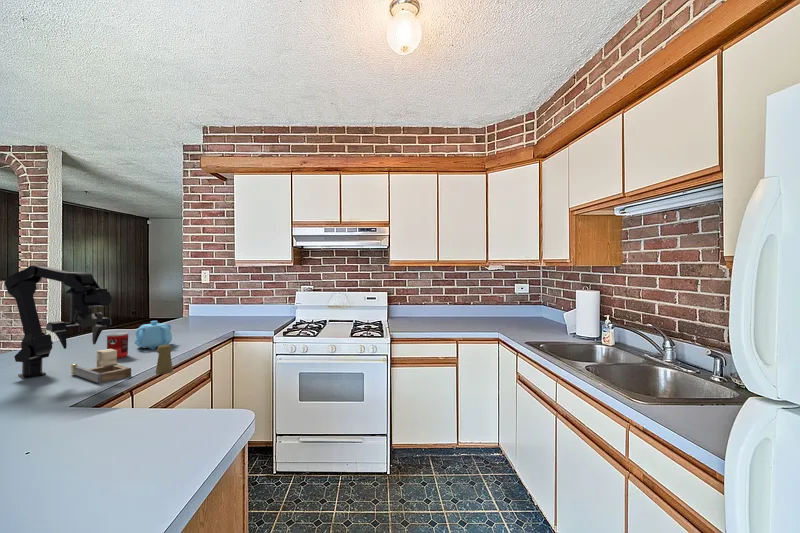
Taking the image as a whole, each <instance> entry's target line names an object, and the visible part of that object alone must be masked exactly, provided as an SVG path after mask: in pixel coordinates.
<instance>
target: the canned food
mask: <svg viewBox="0 0 800 533" xmlns="http://www.w3.org/2000/svg"><path fill="white" fill-rule="evenodd" d="M106 349H114V350H117V358H118V359H124V358H126V356H127V357H128V355H129V333H128V332H126V331H120V332H119V331H118V332H117V331H116V332H110V333H109V332H108V333H107V334H106Z"/></svg>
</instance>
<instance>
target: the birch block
mask: <svg viewBox="0 0 800 533" xmlns="http://www.w3.org/2000/svg"><path fill="white" fill-rule="evenodd" d="M117 361H118V359H117V350H114V349H107V348H106V349H100V350H96V367H102V366H107V365H112V364H118V362H117Z"/></svg>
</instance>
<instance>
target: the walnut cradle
mask: <svg viewBox="0 0 800 533" xmlns="http://www.w3.org/2000/svg"><path fill="white" fill-rule="evenodd" d="M88 369H89V370H92V371H95V372H98V373H101V382H100V383H105V382H106V383H107V382H110V381H114V380H119V379H123V378H128V377H131V376H132V368H131V367H128V366H124V365H121V364H118V363H117V364H112V365H107V366H102V367H97V366H96V367H93V368H88Z"/></svg>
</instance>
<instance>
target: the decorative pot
mask: <svg viewBox="0 0 800 533" xmlns="http://www.w3.org/2000/svg"><path fill="white" fill-rule="evenodd" d="M171 330H172V326H171V324H168V323H160V322H158V320H151V321H150V323H147V324H141V325H140V326H139V327H138V328H137V329H136V330H135V337H134V344H135V345H136V346H137V347H139V348H140V349H145V348H149V350H154V349H155V350H156V348H158V347H159V346H161V345H170V344H171V342H172V341H173V335H172V332H171Z"/></svg>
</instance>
